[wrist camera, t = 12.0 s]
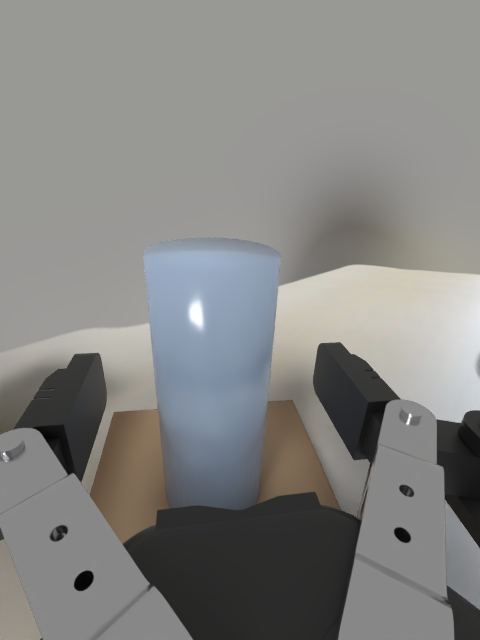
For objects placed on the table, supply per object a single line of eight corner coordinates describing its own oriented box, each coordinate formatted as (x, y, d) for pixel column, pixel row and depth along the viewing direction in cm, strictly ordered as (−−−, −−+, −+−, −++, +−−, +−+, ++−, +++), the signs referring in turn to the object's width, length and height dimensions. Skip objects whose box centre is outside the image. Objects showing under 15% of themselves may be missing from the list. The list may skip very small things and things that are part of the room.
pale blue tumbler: (162, 537, 14) (133, 273, 9) (168, 451, 19) (150, 237, 14) (269, 524, 15) (298, 271, 10) (251, 443, 19) (265, 238, 14)
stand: (59, 698, 12) (41, 659, 11) (119, 446, 23) (114, 412, 22) (366, 642, 14) (382, 603, 13) (288, 432, 25) (292, 400, 23)
